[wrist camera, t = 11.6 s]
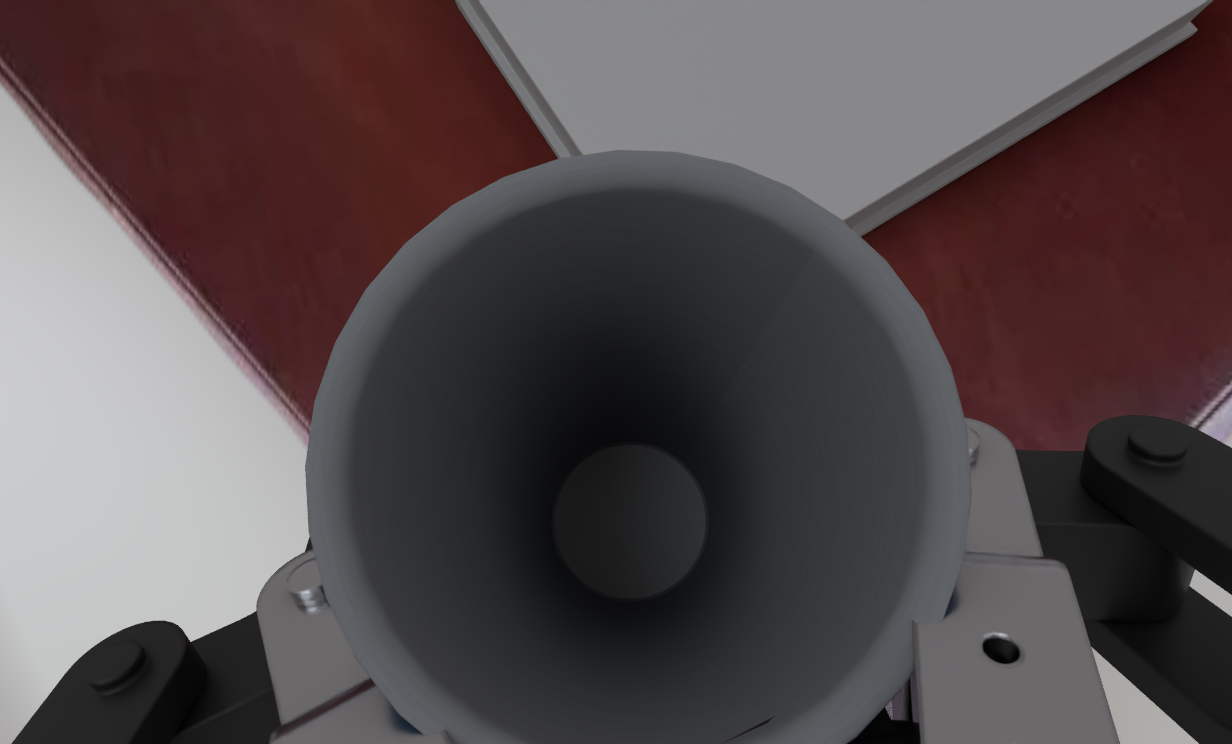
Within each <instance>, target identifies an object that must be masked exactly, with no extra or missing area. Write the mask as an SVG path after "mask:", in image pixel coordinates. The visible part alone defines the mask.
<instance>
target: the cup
mask: <svg viewBox="0 0 1232 744" xmlns="http://www.w3.org/2000/svg"><path fill="white" fill-rule="evenodd" d="M305 468H306V469H305V470H306V489H307V506H308V526H309V535H310V539H311V542H312V546H313V550H314V554H315V558H316V562H317V566H318V570H319V573H320V577H321V581H322V585H323V589H324V593H325V597H326V599H327V601H328V603H329V605H330V607H331V609H332V611H333V613H334V615H335V617H336V619H337V622H338V624H339V626H340V628H341V630H342V632H343V634H344V636H345V638H346V640H347V642H348V644H349V646H350V648H351V650H352V652H353V654H354V656H355V658H356V660H357V661H358V662H359V664H360V665H361V666H362V668H363V669H364V670H365V671H366V673H367V674H368V675H369V677H370V678H371V679H372V680H373V682H374V683H375V684H376V686H377V687H378V688H379V689H380V691H381V692H382V693H383V694H384V696H385V697H386V698H387V700H388V701H389V702H390V703H391V705H392V706H393V707H394V709H395V710H396V711H397V712H398V714H399V715H400V716H402V717H403V718H404V719H405V720H406V721H408V722H409V723H410V724H411V725H412V726H414V727H415V728H416V729H417V730H418V731H420V732H421V733H422V734H424V735H435V734H437V733H439V732H441V731H442V730H444V729H446V731H447V733H448V736H449V738H450V740H451V742H452V744H721V743H722V744H847V743H849V742H850V741H852V740H853V739H855V738H856V737H857V736H858V735H859V734H860V733H861V732H862V731H863V730H864V729H865V727H866V726H867V725H868V724H869V723H870V722H871V721H872V720H873V719H874V718H875V717H876V716H877V715H878V714H879V713H880V712H881V711H882V709H883V708H884V707H885V706H886V705H887V704H888V703H889V702H890V701H891V700H892V699H893V698H894V697H895V696H896V695H897V694H898V693H899V691H900V690H901V689H902V688H903V687H904V686H905V685H906V683H907V681H908V680H909V678H910V676H911V675H912V673H913V641H912V620H913V621H914V622H916V623H938V622H940V621H942V620H943V618H944V615H945V612H946V610H947V607H948V604H949V601H950V598H951V595H952V592H953V590H954V587H955V584H956V581H957V578H958V575H959V572H960V570H961V567H962V564H963V560H964V552H965V545H966V537H967V529H968V522H969V514H970V507H971V499H972V487H971V472H970V458H969V443H968V429H967V426H966V422H965V418H964V414H963V411H962V407H961V403H960V399H959V396H958V392H957V388H956V385H955V381H954V377H953V373H952V370H951V367H950V365H949V362H948V360H947V358H946V356H945V354H944V352H943V350H942V348H941V346H940V344H939V342H938V340H937V338H936V336H935V334H934V332H933V330H932V328H931V325H930V323H929V321H928V319H927V317H926V315H925V313H924V311H923V310H922V308H921V307H920V306H919V304H918V303H917V302H916V300H915V299H914V297H913V296H912V295H911V293H910V292H909V291H908V289H907V288H906V287H905V285H904V284H903V283H902V281H901V280H900V279H899V277H898V276H897V275H896V273H895V272H894V271H893V269H892V268H891V267H890V265H889V264H888V263H887V261H886V260H885V259H884V258H883V257H882V256H881V255H879V254H878V253H877V252H876V251H875V250H874V249H873V248H872V247H871V246H870V245H869V244H868V243H866V242H865V241H864V240H863V239H862V238H861V237H860V236H859V235H858V234H857V233H856V232H855V231H854V230H852V229H851V228H850V227H849V226H848V225H847V224H846V223H845V222H844V221H843V220H842V219H840V218H839V217H837V216H836V215H834V214H832V213H831V212H829V211H828V210H826V209H825V208H823V207H821V206H820V205H818V204H817V203H815V202H814V201H812V200H810V199H809V198H807V197H806V196H804V195H803V194H801V193H799V192H798V191H796V190H795V189H793V188H792V187H790V186H787V185H785V184H782V183H780V182H777V181H775V180H773V179H770V178H768V177H765V176H763V175H760V174H758V173H755V172H753V171H751V170H748V169H746V168H743V167H741V166H738V165H736V164H732V163H727V162H722V161H718V160H713V159H708V158H704V157H699V156H694V155H690V154H685V153H680V152H665V151H635V150H615V151H608V152H601V153H594V154H587V155H580V156H573V157H566V158H560V159H557V160H554V161H551V162H548V163H545V164H542V165H539V166H536V167H533V168H530V169H527V170H524V171H521V172H518V173H515V174H512V175H509V176H506V177H503V178H501V179H500V180H498V181H496V182H494V183H492V184H490V185H489V186H487V187H485V188H483V189H481V190H479V191H478V192H476V193H474V194H472V195H470V196H468V197H467V198H465V199H463V200H461V201H459V202H457V203H456V204H454V205H452V206H451V207H450V208H448V209H447V210H446V211H445V212H443V213H442V214H441V215H440V216H438V217H437V218H436V219H435V220H433V221H432V222H431V223H430V224H429V225H427V226H426V227H425V228H424V229H422V230H421V231H420V232H419V233H417V234H416V235H415V236H414V237H412V238H411V239H410V240H409V241H408V242H406V243H405V244H404V245H403V247H402V248H401V249H400V250H399V251H398V252H397V254H396V255H395V256H394V257H393V258H392V259H391V261H390V262H389V263H388V264H387V265H386V267H385V268H384V269H383V270H382V271H381V272H380V274H379V275H378V276H377V277H376V278H375V279H374V281H373V282H372V283H371V284H370V285H369V286H368V288H367V289H366V290H365V292H364V294H363V295H362V297H361V299H360V301H359V302H358V304H357V306H356V307H355V309H354V311H353V313H352V314H351V316H350V318H349V320H348V321H347V323H346V325H345V327H344V328H343V330H342V332H341V334H340V335H339V337H338V339H337V340H336V342H335V345H334V347H333V350H332V353H331V356H330V359H329V362H328V365H327V368H326V371H325V373H324V376H323V379H322V382H321V385H320V388H319V391H318V394H317V397H316V399H315V402H314V409H313V416H312V423H311V430H310V437H309V444H308V451H307V458H306V465H305ZM774 716H775V717H774ZM772 717H774V718H772ZM770 718H772V719H771V720H770V721H769V722H768V723H767V724H764V725H762V726H760V727H758V728H755V729H753V730H751V731H749V732H747V733H744V734H742V735H740V736H738V737H736V738H733V737H735V736H737V735H739V734H741V733H743V732H745V731H747V730H749V729H751V728H753V727H754V726H756V725H758V724H760V723H762V722H764V721H766V720H768V719H770ZM731 738H733V739H731ZM729 739H731V740H729ZM727 740H729V741H727ZM725 741H727V742H725ZM723 742H725V743H723Z"/></svg>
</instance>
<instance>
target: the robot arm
mask: <svg viewBox="0 0 1232 744" xmlns="http://www.w3.org/2000/svg"><path fill="white" fill-rule="evenodd" d="M965 422H966V426H967V429H968V443H969V458H970V472H971V487H972V499H971V507H970V514H969V522H968V529H967V537H966V545H965V552H964V560H963V564H962V567H961V570H960V572H959V575H958V578H957V581H956V584H955V587H954V590H953V592H952V595H951V598H950V601H949V604H948V607H947V610H946V612H945V615H944V618H943V620H942V621H940V622H938V623H916V622H914V621H913V620H912V641H913V673H912V675H911V676H910V678H909V680H908V681H907V683H906V685H905V686H904V687H903V688H902V689H901V690H900V691H899V693H898V694H897V695H896V696H895V697H894V698H893V699H892V705H893V720H891V719H890V717H889V715H888V713H887V711H886V709H885V707H884V708H883V709H882V711H881V712H880V713H879V714H878V715H877V716H876V717H875V718H874V719H873V720H872V721H871V722H870V723H869V724H868V725H867V726H866V727H865V729H864V730H863V731H862V732H861V733H860V734H859V735H858V736H857V737H856V738H855V739H853V740H852V741H850V742H849V743H847V744H1120V742H1119V739H1118V735H1117V732H1116V729H1115V725H1114V722H1113V719H1112V715H1111V712H1110V709H1109V705H1108V702H1107V698H1106V695H1105V692H1104V689H1103V685H1102V682H1101V678H1100V675H1099V672H1098V668H1097V665H1096V662H1095V658H1094V655H1093V652H1092V648H1091V647H1093V648H1094V649H1095V650H1096V651H1097V652H1098V653H1099V654H1100V655H1101V656H1102V657H1103V658H1105V659H1106V660H1107V661H1108V662H1109V663H1110V664H1111V665H1112V666H1113V667H1115V668H1116V669H1117V670H1118V671H1119V672H1120V673H1121V674H1122V675H1123V676H1125V677H1126V678H1127V679H1128V680H1129V681H1130V682H1131V683H1132V684H1134V685H1135V686H1136V687H1137V688H1138V689H1139V690H1140V691H1141V692H1142V693H1144V694H1145V695H1146V696H1147V697H1148V698H1149V699H1150V700H1151V701H1153V702H1154V703H1155V704H1156V705H1157V706H1158V707H1159V708H1160V709H1161V710H1163V711H1164V712H1165V713H1166V714H1167V715H1168V716H1169V717H1170V718H1171V719H1172V720H1174V721H1175V722H1176V723H1177V724H1178V725H1179V726H1180V727H1181V728H1182V729H1184V730H1185V731H1186V732H1187V733H1188V734H1189V735H1190V736H1191V737H1193V738H1194V739H1195V740H1196V741H1197V742H1198V743H1199V744H1232V617H1231V616H1230V615H1228V614H1227V613H1225V612H1224V611H1223V610H1221V609H1220V608H1219V607H1217V606H1215V605H1214V604H1213V603H1212V602H1210V601H1209V600H1208V599H1206V598H1205V597H1203V596H1202V595H1201V594H1199V593H1198V592H1196V591H1195V590H1194V589H1192V588H1191V587H1190V586H1189V585H1190V582H1191V579H1192V576H1193V573H1194V570H1195V569H1196V570H1197V571H1198V572H1200V573H1202V574H1203V575H1204V576H1206V577H1207V578H1208V579H1210V580H1211V581H1213V582H1214V583H1216V584H1217V585H1219V586H1220V587H1221V588H1223V589H1224V590H1226V591H1227V592H1229V593H1230V594H1231V595H1232V448H1231V447H1229V446H1227V445H1225V444H1223V443H1222V442H1220V441H1218V440H1216V439H1214V438H1212V437H1210V436H1209V435H1207V434H1205V433H1203V432H1201V431H1199V430H1197V429H1195V428H1193V427H1191V426H1188V425H1185V424H1183V423H1180V422H1176V421H1173V420H1169V419H1164V418H1159V417H1152V416H1140V415H1130V416H1120V417H1114V418H1110V419H1107V420H1104V421H1102V422H1100V423H1098V424H1097V425H1095V426H1094V427H1093V428H1092V429H1091V430H1090V432H1089V434H1088V437H1087V441H1086V445H1085V450H1084V451H1028V450H1017V449H1014V446H1013V444H1012V443H1011V441H1010V440H1009V439H1008V438H1007V437H1006V436H1005V435H1004V434H1003V433H1002V432H1000V431H999V430H997V429H996V428H994V427H992V426H990V425H988V424H985V423H983V422H980V421H977V420H973V419H970V418H965ZM256 607H257V611H256V612H254V613H252V614H251V615H249V616H247V617H245V618H243V619H241V620H239V621H236V622H234V623H232V624H230V625H227V626H225V627H223V628H221V629H219V630H216V631H214V632H212V633H210V634H208V635H206V636H203V637H201V638H199V639H197V640H194V641H192V642H190V640H189V639H188V638H187V636H186V635H185V633H184V632H183V630H182V629H181V628H180V627H179V626H178V625H176V624H174V623H172V622H167V621H150V622H144V623H140V624H137V625H134V626H131V627H128V628H126V629H123V630H121V631H119V632H117V633H115V634H113V635H111V636H110V637H108V638H106V639H104V640H103V641H101V642H100V643H98V644H97V645H95V646H94V647H93V648H91V649H90V650H89V651H88V652H86V653H85V654H84V655H83V656H82V657H81V658H80V659H78V661H76V662H75V663H74V664H73V666H72V667H71V668H70V669H69V670H68V671H67V673H66V674H65V675H64V676H63V678H62V679H61V680H60V681H59V683H58V684H57V685H56V687H55V688H54V689H53V690H52V692H51V693H50V694H49V696H48V697H47V699H46V700H45V701H44V702H43V704H42V705H41V706H40V708H39V709H38V710H37V711H36V713H35V714H34V715H33V716H32V718H31V719H30V720H29V722H28V723H27V724H26V726H25V727H24V728H23V729H22V731H21V732H20V733H19V735H18V736H17V737H16V739H15V740H14V741H13V743H12V744H452V742H451V740H450V738H449V736H448V733H447V731H446V729H444V730H442V731H441V732H439V733H437V734H435V735H424V734H422V733H421V732H420V731H418V730H417V729H416V728H415V727H414V726H412V725H411V724H410V723H409V722H408V721H406V720H405V719H404V718H403V717H402V716H400V715H399V714H398V712H397V711H396V710H395V709H394V707H393V706H392V705H391V703H390V702H389V701H388V700H387V698H386V697H385V696H384V694H383V693H382V692H381V691H380V689H379V688H378V687H377V686H376V684H375V683H374V682H373V680H372V679H371V678H370V677H369V675H368V674H367V673H366V671H365V670H364V669H363V668H362V666H361V665H360V664H359V662H358V661H357V660H356V658H355V656H354V654H353V652H352V650H351V648H350V646H349V644H348V642H347V640H346V638H345V636H344V634H343V632H342V630H341V628H340V626H339V624H338V622H337V619H336V617H335V615H334V613H333V611H332V609H331V607H330V605H329V603H328V601H327V599H326V597H325V593H324V589H323V585H322V581H321V577H320V573H319V570H318V566H317V562H316V558H315V554H314V550H313V546H312V542H311V539H310V537H309V540H308V544H307V547H306V550H305V552H304V553H302V554H300V555H298V556H297V557H295V558H293V559H292V560H290V561H289V562H287V563H286V564H285V565H283V566H282V567H281V568H279V569H278V570H277V571H276V572H275V573H274V574H273V575H272V576H271V577H270V579H269V580H268V581H267V582H266V584H265V585H264V587H263V589H262V590H261V592H260V595H259V597H258V600H257V606H256ZM774 717H775V716H774ZM774 717H772V718H774ZM772 718H770V719H768V720H766V721H764V722H762V723H760V724H758V725H756V726H754V727H753V728H751V729H749V730H747V731H745V732H743V733H741V734H739V735H737V736H735V737H733V738H736V737H738V736H740V735H742V734H744V733H747V732H749V731H751V730H753V729H755V728H758V727H760V726H762V725H764V724H767V723H768V722H769V721H770V720H771V719H772ZM733 738H731V739H733ZM731 739H729V740H731ZM729 740H727V741H729ZM727 741H725V742H727ZM725 742H723V743H725ZM721 744H722V743H721Z"/></svg>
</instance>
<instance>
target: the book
mask: <svg viewBox="0 0 1232 744" xmlns="http://www.w3.org/2000/svg"><path fill="white" fill-rule="evenodd" d="M1212 1H1213V0H455V2H456V4H457V6H458V8H459V10H460V11H461V13H462V14H463V16H464V17H465V19H466V21H467V22H468V24H469V25H470V27H471V28H472V30H473V31H474V33H475V34H476V36H477V37H478V39H479V40H480V42H481V43H482V45H483V46H484V48H485V49H486V51H487V52H488V54H489V55H490V57H491V58H492V60H493V61H494V63H495V64H496V66H497V67H498V69H499V70H500V72H501V73H502V75H503V76H504V78H505V79H506V81H507V82H508V84H509V85H510V87H511V88H512V90H513V91H514V93H515V94H516V96H517V97H518V99H519V100H520V102H521V103H522V105H523V106H524V108H525V109H526V111H527V112H528V114H529V115H530V117H531V118H532V120H533V121H534V123H535V124H536V126H537V127H538V129H539V130H540V132H541V133H542V135H543V136H544V138H545V139H546V141H547V142H548V144H549V145H550V147H551V148H552V150H553V151H554V153H555V154H556V156H557V157H558V159H560V158H566V157H573V156H580V155H587V154H594V153H601V152H608V151H615V150H635V151H665V152H680V153H685V154H690V155H694V156H699V157H704V158H708V159H713V160H718V161H722V162H727V163H732V164H736V165H738V166H741V167H743V168H746V169H748V170H751V171H753V172H755V173H758V174H760V175H763V176H765V177H768V178H770V179H773V180H775V181H777V182H780V183H782V184H785V185H787V186H790V187H792V188H793V189H795V190H796V191H798V192H799V193H801V194H803V195H804V196H806V197H807V198H809V199H810V200H812V201H814V202H815V203H817V204H818V205H820V206H821V207H823V208H825V209H826V210H828V211H829V212H831V213H832V214H834V215H836V216H837V217H839V218H840V219H842V220H843V221H844V222H845V223H846V224H847V225H848V226H849V227H850V228H851V229H852V230H854V231H855V232H856V233H857V234H858V235H859V236H860V237H861V236H863V235H865V234H866V233H868V232H870V231H871V230H873V229H875V228H876V227H878V226H880V225H881V224H883V223H884V222H886V221H888V220H889V219H891V218H893V217H894V216H896V215H898V214H899V213H901V212H903V211H904V210H906V209H908V208H909V207H911V206H912V205H914V204H916V203H917V202H919V201H921V200H922V199H924V198H926V197H927V196H929V195H931V194H932V193H934V192H936V191H937V190H939V189H940V188H942V187H944V186H945V185H947V184H949V183H950V182H952V181H954V180H955V179H957V178H959V177H960V176H962V175H964V174H965V173H967V172H968V171H970V170H972V169H973V168H975V167H977V166H978V165H980V164H982V163H983V162H985V161H987V160H988V159H990V158H992V157H993V156H995V155H996V154H998V153H1000V152H1001V151H1003V150H1005V149H1006V148H1008V147H1010V146H1011V145H1013V144H1015V143H1016V142H1018V141H1020V140H1021V139H1023V138H1025V137H1026V136H1028V135H1029V134H1031V133H1033V132H1034V131H1036V130H1038V129H1039V128H1041V127H1043V126H1044V125H1046V124H1048V123H1049V122H1051V121H1053V120H1054V119H1056V118H1057V117H1059V116H1061V115H1062V114H1064V113H1066V112H1067V111H1069V110H1071V109H1072V108H1074V107H1076V106H1077V105H1079V104H1081V103H1082V102H1084V101H1085V100H1087V99H1089V98H1090V97H1092V96H1094V95H1095V94H1097V93H1099V92H1100V91H1102V90H1104V89H1105V88H1107V87H1109V86H1110V85H1112V84H1113V83H1115V82H1117V81H1118V80H1120V79H1122V78H1123V77H1125V76H1127V75H1128V74H1130V73H1132V72H1133V71H1135V70H1137V69H1138V68H1140V67H1141V66H1143V65H1145V64H1146V63H1148V62H1150V61H1151V60H1153V59H1155V58H1156V57H1158V56H1160V55H1161V54H1163V53H1165V52H1166V51H1168V50H1169V49H1171V48H1173V47H1174V46H1176V45H1178V44H1179V43H1181V42H1183V41H1184V40H1186V39H1187V38H1189V37H1191V36H1192V35H1193V34H1194V33H1195V32H1196V31H1197V28H1196V27H1195V26H1194V25H1193V24H1192V23H1191V22H1190V21H1191V20H1192V19H1193V18H1194V17H1195V16H1197V15H1198V14H1199V13H1200V12H1201V11H1202V10H1203V9H1204V8H1205V7H1206V6H1207V5H1208V4H1209V3H1211V2H1212Z"/></svg>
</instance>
